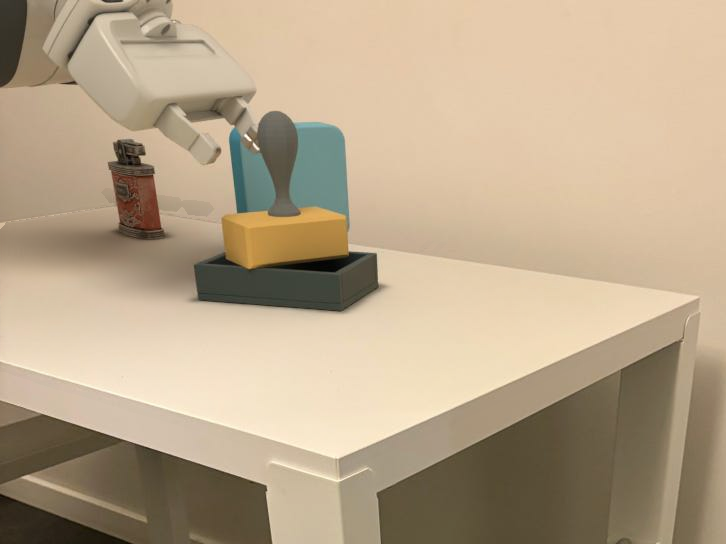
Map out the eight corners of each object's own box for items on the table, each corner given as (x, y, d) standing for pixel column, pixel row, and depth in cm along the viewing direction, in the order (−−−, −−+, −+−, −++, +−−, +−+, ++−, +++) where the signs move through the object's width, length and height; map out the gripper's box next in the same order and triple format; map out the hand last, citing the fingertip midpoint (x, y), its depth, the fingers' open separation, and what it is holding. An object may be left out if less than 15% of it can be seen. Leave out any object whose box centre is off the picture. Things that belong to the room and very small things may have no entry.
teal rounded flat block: (336, 233, 118) (329, 121, 112) (351, 239, 115) (344, 124, 109) (239, 241, 113) (226, 124, 107) (251, 248, 110) (239, 128, 104)
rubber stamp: (321, 247, 95) (312, 106, 89) (350, 257, 91) (342, 111, 85) (224, 258, 90) (206, 110, 84) (250, 269, 86) (233, 115, 80)
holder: (341, 311, 87) (338, 274, 85) (197, 300, 90) (193, 264, 88) (378, 286, 95) (377, 252, 93) (246, 277, 98) (242, 244, 96)
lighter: (113, 230, 118) (96, 137, 113) (139, 227, 120) (124, 136, 115) (144, 240, 113) (128, 143, 108) (171, 236, 115) (157, 141, 110)
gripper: (164, 49, 93) (269, 167, 97) (28, 51, 77) (160, 194, 80) (200, -7, 90) (308, 117, 93) (67, -17, 73) (203, 135, 76)
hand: (239, 153), depth 86 cm, fingers open, 8 cm apart
